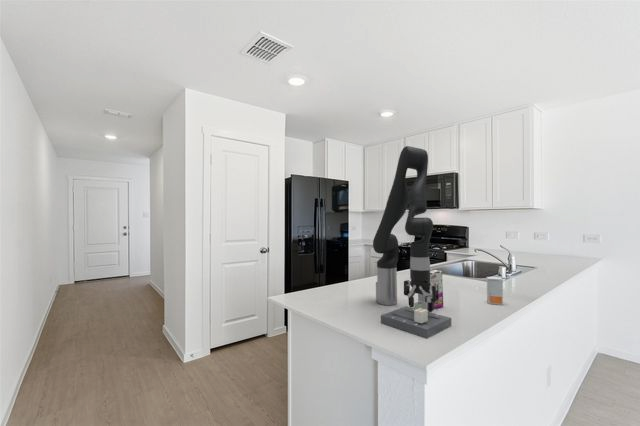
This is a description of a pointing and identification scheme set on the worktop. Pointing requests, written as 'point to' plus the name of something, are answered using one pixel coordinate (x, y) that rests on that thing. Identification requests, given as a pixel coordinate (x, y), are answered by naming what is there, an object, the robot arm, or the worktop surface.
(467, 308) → the worktop surface
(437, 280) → the candy bar box
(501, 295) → the skincare box
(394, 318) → the fader board
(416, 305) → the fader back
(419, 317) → the block
